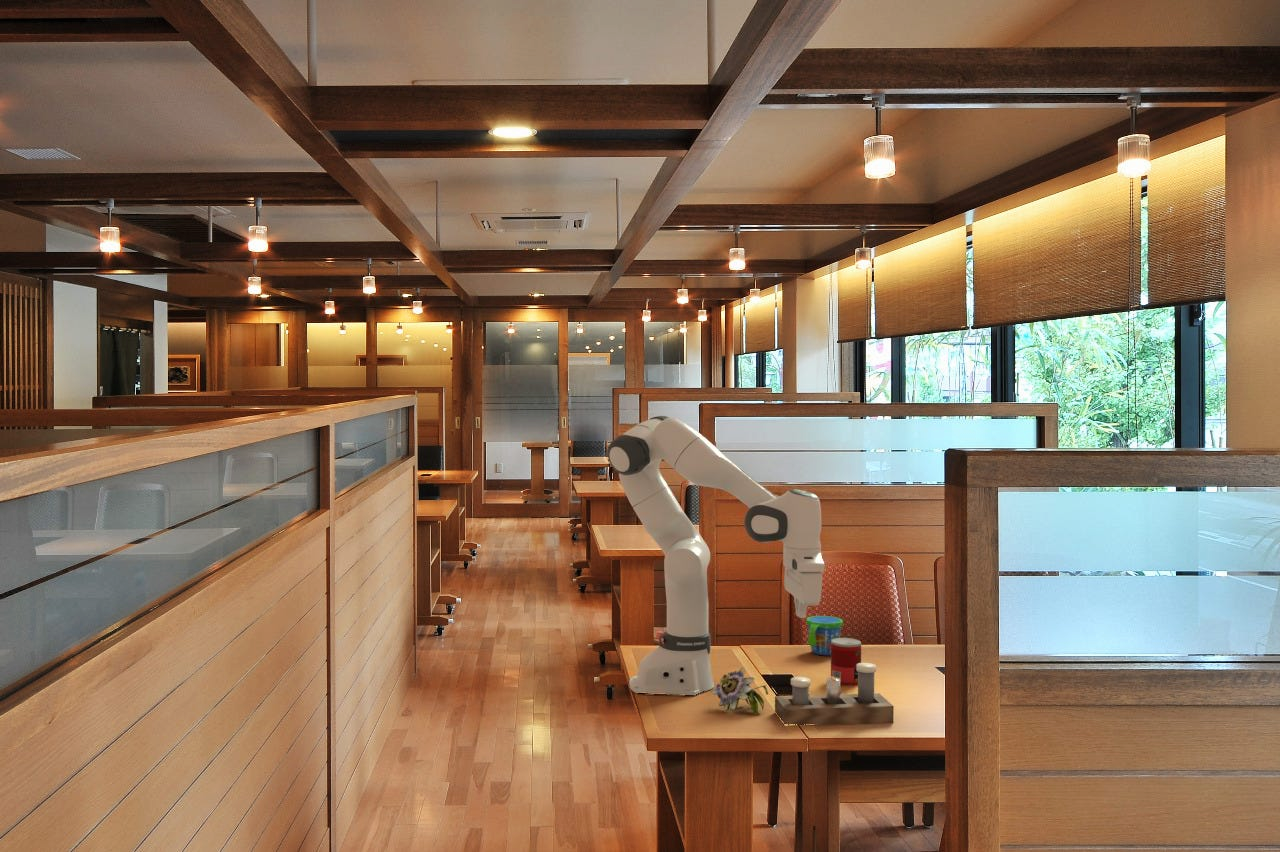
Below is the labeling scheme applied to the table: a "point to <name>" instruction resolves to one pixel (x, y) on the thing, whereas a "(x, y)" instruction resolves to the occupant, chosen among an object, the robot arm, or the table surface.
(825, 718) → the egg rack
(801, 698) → the knob left
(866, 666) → the knob right
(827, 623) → the snack cup
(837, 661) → the canned food
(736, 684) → the passion flower
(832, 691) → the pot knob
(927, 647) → the table surface
